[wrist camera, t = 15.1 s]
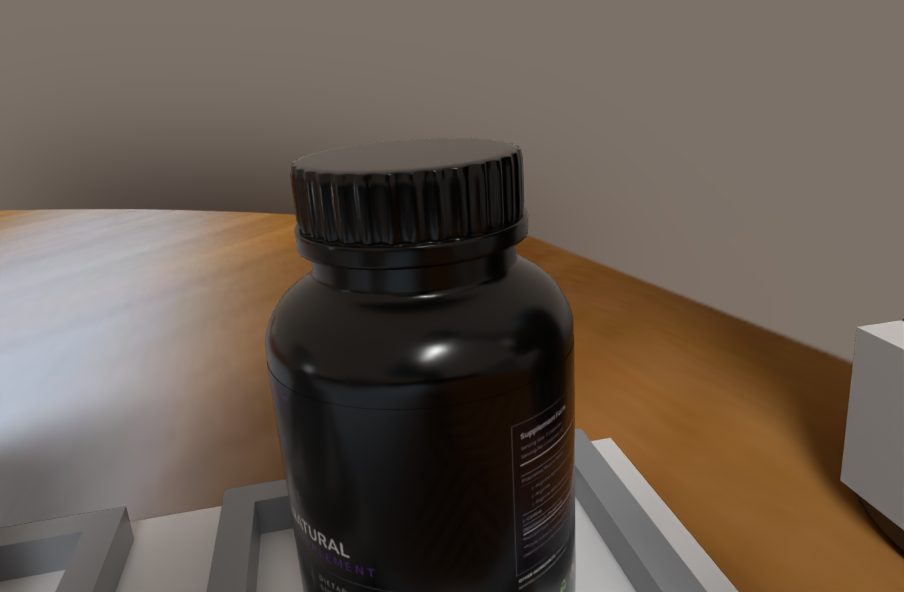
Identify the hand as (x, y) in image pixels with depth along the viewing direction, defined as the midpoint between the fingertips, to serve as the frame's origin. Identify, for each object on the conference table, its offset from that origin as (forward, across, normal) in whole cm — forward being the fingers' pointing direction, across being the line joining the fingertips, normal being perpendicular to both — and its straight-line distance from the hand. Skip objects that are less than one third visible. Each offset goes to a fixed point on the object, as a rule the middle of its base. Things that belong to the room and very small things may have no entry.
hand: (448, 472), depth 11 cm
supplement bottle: (+6, 0, -8) cm, 10 cm away
